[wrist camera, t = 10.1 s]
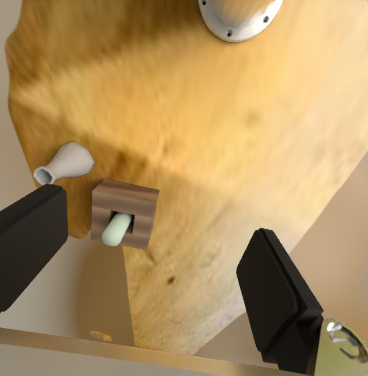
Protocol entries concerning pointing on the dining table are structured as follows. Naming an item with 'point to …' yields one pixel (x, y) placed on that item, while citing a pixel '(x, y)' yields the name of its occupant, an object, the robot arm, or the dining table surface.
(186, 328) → the dining table surface
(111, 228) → the peg
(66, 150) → the flask
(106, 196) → the socket block
